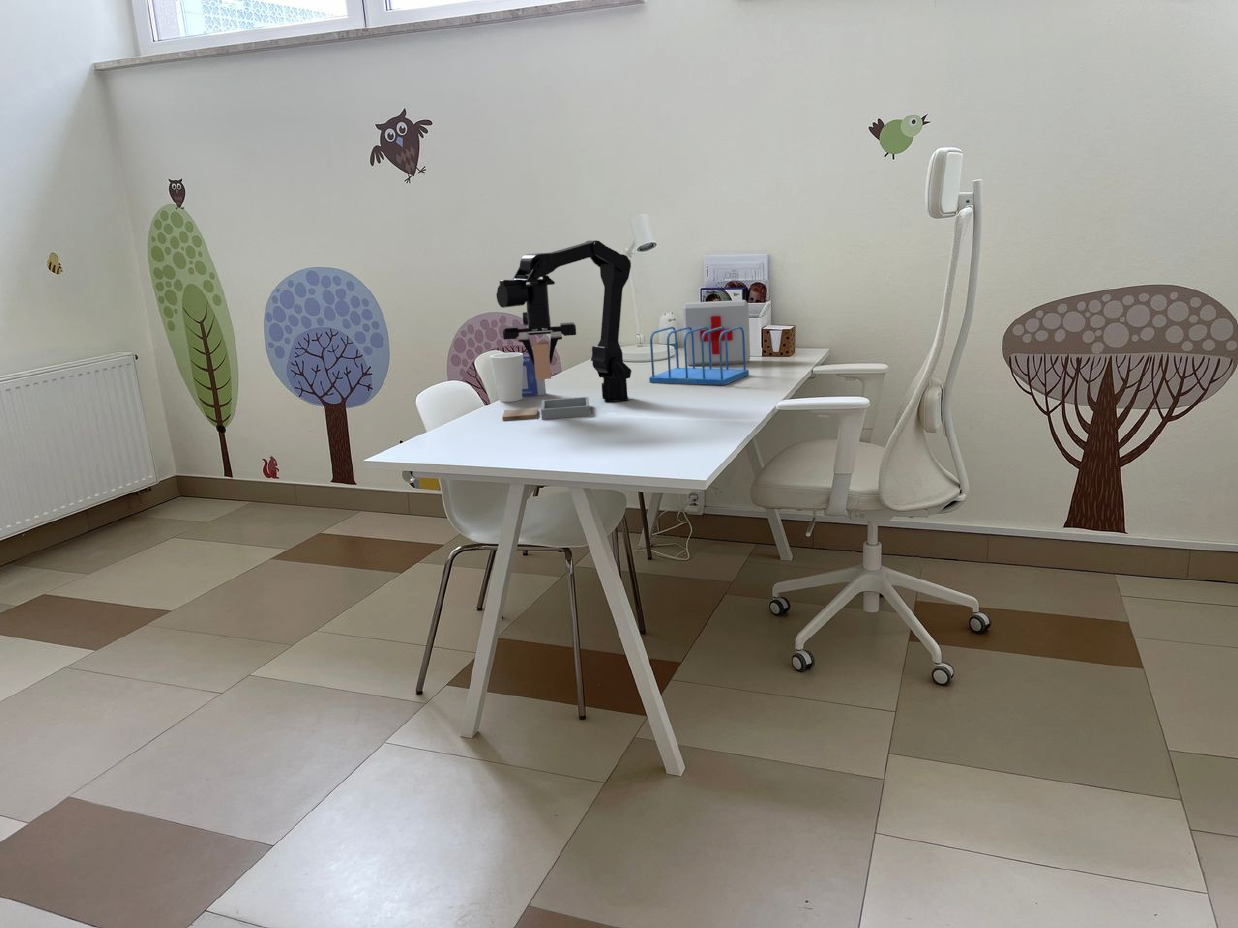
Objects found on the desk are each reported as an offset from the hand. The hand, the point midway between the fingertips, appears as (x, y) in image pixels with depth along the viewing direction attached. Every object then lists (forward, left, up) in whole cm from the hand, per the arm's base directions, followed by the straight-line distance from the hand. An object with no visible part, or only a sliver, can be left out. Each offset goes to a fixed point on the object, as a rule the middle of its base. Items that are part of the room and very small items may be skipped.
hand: (542, 364), depth 246 cm
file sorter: (-45, -34, -14) cm, 58 cm away
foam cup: (+11, -24, -14) cm, 30 cm away
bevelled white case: (-55, -59, -14) cm, 82 cm away
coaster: (+7, 0, -13) cm, 15 cm away
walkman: (+5, -29, -14) cm, 33 cm away
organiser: (-5, 0, -13) cm, 14 cm away
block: (0, 0, -4) cm, 4 cm away
